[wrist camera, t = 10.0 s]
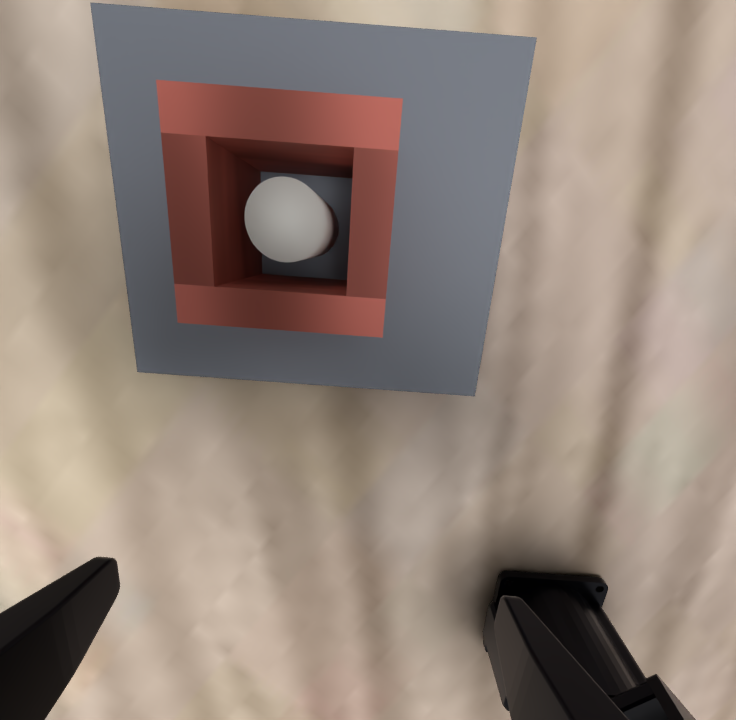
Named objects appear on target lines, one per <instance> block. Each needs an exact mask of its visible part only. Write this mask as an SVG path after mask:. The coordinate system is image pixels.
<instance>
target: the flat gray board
mask: <svg viewBox="0 0 736 720" xmlns="http://www.w3.org/2000/svg"><path fill="white" fill-rule="evenodd" d="M90 4H91V12H92V19H93V27H94V35H95V43H96V51H97V59H98V66H99V74H100V82H101V90H102V98H103V106H104V113H105V121H106V129H107V137H108V145H109V153H110V160H111V168H112V176H113V184H114V192H115V200H116V207H117V215H118V223H119V231H120V239H121V247H122V254H123V262H124V270H125V278H126V286H127V294H128V301H129V309H130V317H131V325H132V333H133V341H134V348H135V356H136V364H137V372H144V373H158V374H172V375H186V376H200V377H214V378H228V379H242V380H255V381H269V382H283V383H297V384H311V385H325V386H339V387H353V388H367V389H381V390H394V391H408V392H422V393H436V394H450V395H464V396H475V392H476V386H477V380H478V374H479V368H480V363H481V357H482V351H483V345H484V339H485V334H486V328H487V322H488V316H489V311H490V305H491V299H492V293H493V287H494V282H495V276H496V270H497V264H498V258H499V253H500V247H501V241H502V235H503V230H504V224H505V218H506V212H507V206H508V201H509V195H510V189H511V183H512V177H513V172H514V166H515V160H516V154H517V149H518V143H519V137H520V131H521V125H522V120H523V114H524V108H525V102H526V96H527V91H528V85H529V79H530V73H531V68H532V62H533V56H534V50H535V44H536V39H537V38H536V37H523V36H510V35H498V34H485V33H472V32H459V31H447V30H434V29H421V28H408V27H396V26H383V25H370V24H357V23H344V22H332V21H319V20H306V19H293V18H281V17H268V16H255V15H242V14H230V13H217V12H204V11H191V10H178V9H166V8H153V7H140V6H127V5H115V4H102V3H90ZM156 80H166V81H179V82H193V83H206V84H219V85H232V86H245V87H258V88H271V89H284V90H297V91H310V92H323V93H336V94H349V95H362V96H375V97H388V98H401V99H403V104H402V115H401V127H400V139H399V151H398V162H397V174H396V186H395V198H394V209H393V221H392V233H391V245H390V256H389V268H388V280H387V292H386V303H385V315H384V327H383V338H381V337H367V336H354V335H340V334H326V333H312V332H298V331H285V330H271V329H257V328H243V327H229V326H216V325H202V324H188V323H178V321H177V310H176V298H175V287H174V276H173V264H172V253H171V242H170V231H169V219H168V208H167V197H166V186H165V174H164V163H163V152H162V141H161V129H160V118H159V107H158V96H157V84H156ZM351 196H352V178H341V177H328V176H314V175H301V174H288V173H274V172H261V183H260V184H259V185H258V186H257V187H256V188H255V189H254V190H253V191H252V193H251V195H250V196H249V198H248V201H247V204H246V207H245V226H246V230H247V233H248V235H249V237H250V240H251V241H252V243H253V244H254V245H255V247H256V248H257V249H258V250H259V251H260V252H261V253H262V274H271V275H285V276H298V277H312V278H326V279H339V280H347V273H348V254H349V235H350V216H351Z"/></svg>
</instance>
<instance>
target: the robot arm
mask: <svg viewBox="0 0 736 720" xmlns="http://www.w3.org/2000/svg"><path fill="white" fill-rule="evenodd" d="M119 589H120V581H119V573H118V566H117V561H116V560H115V559H114V558H108V557H96V558H93V559H91V560H90V561H88V562H86V563H85V564H83V565H81V566H79V567H78V568H76V569H74V570H73V571H71V572H69V573H68V574H66V575H64V576H63V577H61V578H59V579H57V580H56V581H54V582H52V583H51V584H49V585H47V586H46V587H44V588H42V589H41V590H39V591H37V592H35V593H34V594H32V595H30V596H29V597H27V598H25V599H24V600H22V601H20V602H19V603H17V604H15V605H13V606H12V607H10V608H8V609H7V610H5V611H3V612H2V613H0V720H45V718H46V717H47V715H48V714H49V712H50V711H51V709H52V708H53V706H54V705H55V703H56V702H57V700H58V698H59V697H60V695H61V694H62V692H63V691H64V689H65V688H66V686H67V685H68V683H69V681H70V680H71V678H72V677H73V675H74V673H75V672H76V670H77V668H78V667H79V665H80V663H81V661H82V660H83V658H84V656H85V654H86V652H87V650H88V649H89V647H90V645H91V643H92V641H93V639H94V638H95V636H96V634H97V632H98V630H99V628H100V627H101V625H102V623H103V621H104V619H105V618H106V616H107V614H108V612H109V610H110V608H111V607H112V605H113V603H114V601H115V599H116V597H117V595H118V593H119ZM607 591H608V586H607V584H606V583H605V582H604V580H603V579H602V578H600V577H589V576H574V575H560V574H545V573H531V572H516V571H504V572H502V573H500V574H499V576H498V580H497V584H496V589H495V593H494V597H493V602H491V603H490V605H489V607H488V612H487V616H486V621H485V625H484V629H483V636H484V640H483V644H484V647H485V650H486V652H488V654H489V657H490V661H491V665H492V668H493V672H494V675H495V679H496V682H497V686H498V690H499V693H500V697H501V700H502V704H503V706H504V707H505V708H506V709H507V710H508V711H510V716H511V720H696V719H695V718H694V717H693V716H692V715H691V714H690V712H689V711H688V710H687V709H686V708H685V707H684V705H683V704H682V703H681V702H680V701H679V700H678V698H677V697H676V696H675V695H674V694H673V693H672V691H671V690H670V689H669V688H668V687H667V686H666V684H665V683H664V682H663V681H662V680H661V679H660V677H659V676H658V675H657V674H655V675H652V676H650V677H648V678H646V677H645V676H644V674H643V673H642V671H641V669H640V668H639V666H638V665H637V663H636V661H635V660H634V658H633V657H632V655H631V653H630V652H629V650H628V649H627V647H626V645H625V644H624V642H623V641H622V639H621V638H620V636H619V634H618V633H617V631H616V630H615V628H614V626H613V625H612V623H611V622H610V620H609V618H608V617H607V615H606V614H605V612H604V610H603V609H602V605H603V602H604V599H605V597H606V594H607Z"/></svg>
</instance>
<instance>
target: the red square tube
mask: <svg viewBox="0 0 736 720" xmlns="http://www.w3.org/2000/svg"><path fill="white" fill-rule="evenodd" d="M156 84H157V96H158V107H159V118H160V129H161V141H162V152H163V163H164V174H165V186H166V197H167V208H168V219H169V231H170V242H171V253H172V264H173V276H174V287H175V298H176V310H177V321H178V323H188V324H202V325H216V326H229V327H243V328H257V329H271V330H285V331H298V332H312V333H326V334H340V335H354V336H367V337H381V338H383V327H384V315H385V303H386V292H387V280H388V268H389V256H390V245H391V233H392V221H393V209H394V198H395V186H396V174H397V162H398V151H399V139H400V127H401V115H402V104H403V99H401V98H388V97H375V96H362V95H349V94H336V93H323V92H310V91H297V90H284V89H271V88H258V87H245V86H232V85H219V84H206V83H193V82H179V81H166V80H156ZM261 172H274V173H288V174H301V175H314V176H328V177H341V178H352V196H351V216H350V235H349V254H348V273H347V280H339V279H326V278H312V277H298V276H285V275H271V274H262V253H261V252H260V251H259V250H258V249H257V248H256V247H255V245H254V244H253V243H252V241H251V240H250V237H249V235H248V233H247V230H246V226H245V207H246V204H247V201H248V198H249V196H250V195H251V193H252V191H253V190H254V189H255V188H256V187H257V186H258V185H259V184H260V183H261Z"/></svg>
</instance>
